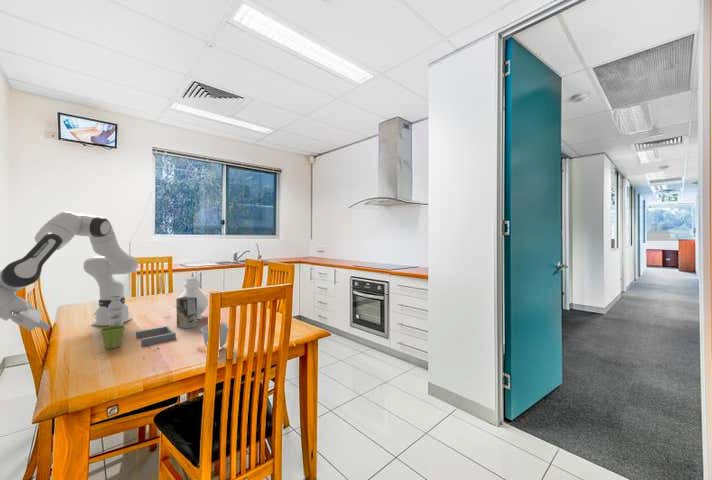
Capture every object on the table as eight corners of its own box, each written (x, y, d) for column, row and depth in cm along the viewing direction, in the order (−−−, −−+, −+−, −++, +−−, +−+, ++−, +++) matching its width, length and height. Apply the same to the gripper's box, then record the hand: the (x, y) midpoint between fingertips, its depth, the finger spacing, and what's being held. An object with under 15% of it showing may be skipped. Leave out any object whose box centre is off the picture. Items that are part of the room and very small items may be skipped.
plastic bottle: (115, 338, 155) (115, 298, 154) (104, 336, 156) (104, 297, 155) (127, 333, 161) (127, 295, 160) (116, 332, 162) (116, 295, 162)
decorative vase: (214, 316, 195) (214, 277, 194) (189, 324, 179) (189, 281, 178) (195, 313, 202) (194, 275, 201) (168, 320, 186) (168, 278, 185)
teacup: (219, 340, 152) (219, 320, 152) (234, 348, 143) (234, 327, 142) (193, 347, 143) (193, 326, 143) (208, 356, 133) (208, 333, 133)
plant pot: (95, 351, 138) (94, 332, 138) (107, 343, 147) (107, 325, 147) (118, 349, 140) (118, 330, 140) (129, 342, 149) (129, 324, 149)
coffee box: (197, 325, 176) (197, 297, 175) (187, 328, 170) (187, 299, 170) (186, 323, 179) (185, 296, 179) (175, 326, 174) (175, 298, 173)
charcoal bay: (136, 337, 156) (136, 331, 156) (168, 331, 166) (168, 325, 165) (141, 345, 145) (141, 339, 145) (175, 338, 154) (175, 332, 154)
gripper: (18, 307, 116) (55, 327, 123) (23, 298, 130) (56, 316, 137) (0, 321, 113) (39, 341, 120) (8, 310, 127) (42, 328, 134)
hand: (48, 328), depth 129 cm, fingers closed
